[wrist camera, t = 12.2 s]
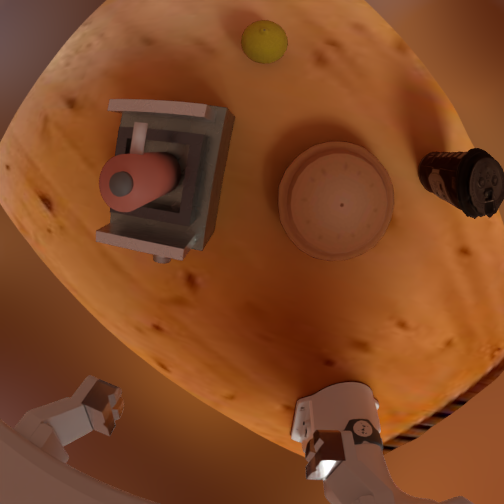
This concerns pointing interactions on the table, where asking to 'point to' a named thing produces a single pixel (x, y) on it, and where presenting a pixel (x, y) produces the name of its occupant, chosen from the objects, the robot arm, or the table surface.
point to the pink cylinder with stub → (138, 175)
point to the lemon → (264, 41)
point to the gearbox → (191, 183)
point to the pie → (335, 201)
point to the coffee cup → (465, 180)
